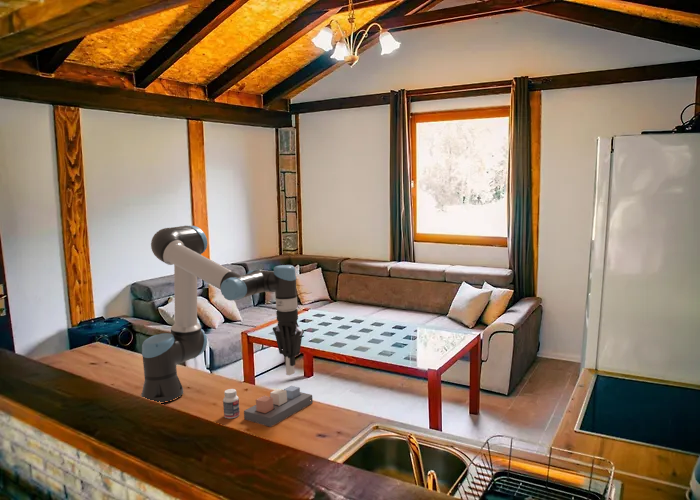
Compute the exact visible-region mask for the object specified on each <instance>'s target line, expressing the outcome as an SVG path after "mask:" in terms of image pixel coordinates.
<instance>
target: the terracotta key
mask: <svg viewBox="0 0 700 500" xmlns="http://www.w3.org/2000/svg"><path fill="white" fill-rule="evenodd" d="M255 405H256V410H257V411H258V412H262V413H267V412H269V411H271V410H273V398H272V397H270V396H268V395H261V396H260V397H258V398H257V399H255Z"/></svg>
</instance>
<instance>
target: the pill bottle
mask: <svg viewBox="0 0 700 500" xmlns="http://www.w3.org/2000/svg"><path fill="white" fill-rule="evenodd" d="M239 399H240V398H239V396H238V395H237V390H236V389H235V388H228V389H225V390H224V397H223V399H222V405H223V416H224V418H225V419H228V420H230V419H236V418H238V417H240V400H239Z"/></svg>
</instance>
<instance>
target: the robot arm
mask: <svg viewBox="0 0 700 500" xmlns="http://www.w3.org/2000/svg"><path fill="white" fill-rule="evenodd" d="M207 247H208V238H207V236H206V234H205V232H204V231H203V230H202V228H200V227H198V226H196V225H180V226H174V227H165V228H162V229H160V230H158V231H156V233H154V235H153V236H152V238H151V243H150V249H151V252H152V254H153V255H154V256H155V257H156V259H158V260H159V261H161V262H162V263H164V264H166V265H167V266H172V265H174V270H173V271H174V272H173V274H174V283H173V284H174V324H172V325H171V326H170V332H168V333H167V332H165V333H159V334H154V335H152V336H149V337H148V338H146V339H144V341H143V342H142V345H141V355H142V356H141V357H142V362H143V363H142V364H143V375H144V381H143V382H144V383H143V387H142V390H141V391H142V392H141V394H140V396H142V397H145V398H147V399H150V400H154V401H157V402H159V401H160V402H165V401H170V400H173V399H175V398H177V397H179V396H181V395H182V394H183V395H184V386H183V384H182V383H181V381H180V380H181V379H179V377H178V369H177V365H180V364H183V363H185V362H187V361H190V360H193V359H196V358H197V357H199V356H201V355H202V354H203V353H204V351H206V349H207V346H208V337H207V334H205V333H206V332H205V331H204V329H202V325H201V324H200V323H198V279H200V280H202V281H204V282H206V283H207V284H209V285H211V286H213V287H215V288H217V289H219V290H220V292H221V295H222V296H223V297H224V298H225V300H228V301H231V302H232V301H238V300H241V299H244V298H248V297H250V296H253V295H257V294H260V293H265V292H267V293H268V292H269V293H275V294H274V296H275V309H276V312H275V313H276V314H275V315H276V321H277V325H276V326H274V327H272V331H273V333H274V335H275V338H276V339H275V340H276V344H277V348H278V349H277V350H278V353H279V354H280V355H282V356H283V357H284V365H285V372H286V373H285V374H286V375H287V376H292V375H293V374H295V371H296V370H295V365H296V356H299V355H300V353H301V347H302V338H303V335H304V334H305V329H301V328H300V327H299V324H298V320H299V312H298V311H299V310H298V309H297V308H298V297H297V295H298V293H297V274H296V267H295V266H294V265H291V264H286V265H285V264H282V265H276V266H274V267H273V270H261V269H255V270H253V269H252V270H249V271H247V273H245V274H239V273H237V272H235V271H233V270H231V269H229V268H227V267H225V266H223V265H221V264H220V263H218V262H215V261H213V260H212V259H210V258H208V257H206V256H205V255H202V254H203V253H204V252H206V250H207Z"/></svg>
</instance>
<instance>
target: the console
mask: <svg viewBox="0 0 700 500" xmlns="http://www.w3.org/2000/svg"><path fill="white" fill-rule="evenodd" d="M310 400H311V401H310ZM313 403H314V402H313V395H312V394H310V393H305V392H302V391H300V396H298V397H297V398H295V399H289V398H287V402H286V403H284V404H282V405H280V406H278V405H274V404H273V410H271V411H269V412H267V413H262V412H258V411H257V410H256V404H254V405H253V406H250V407H248V408H247V409H245V410H243V418H244V420H246V421H248V422H252V423H255V424H259V425H262V426H265V427H269V428H271V427H274V426H275V425H277V424H279V423H280V422H282V421H284V420H285V419H287V418H289V417H291V416H292V415H294V414H296V413H298V412H300V411H301V410H303V409H305V408H306V407H309V406H310V405H311V404H313Z"/></svg>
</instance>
